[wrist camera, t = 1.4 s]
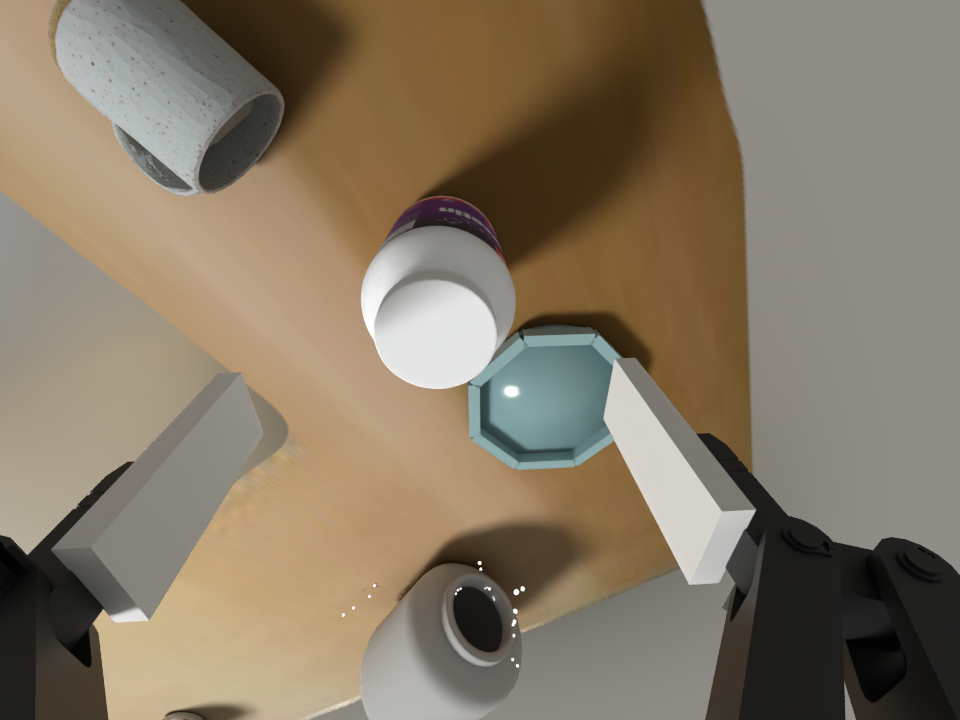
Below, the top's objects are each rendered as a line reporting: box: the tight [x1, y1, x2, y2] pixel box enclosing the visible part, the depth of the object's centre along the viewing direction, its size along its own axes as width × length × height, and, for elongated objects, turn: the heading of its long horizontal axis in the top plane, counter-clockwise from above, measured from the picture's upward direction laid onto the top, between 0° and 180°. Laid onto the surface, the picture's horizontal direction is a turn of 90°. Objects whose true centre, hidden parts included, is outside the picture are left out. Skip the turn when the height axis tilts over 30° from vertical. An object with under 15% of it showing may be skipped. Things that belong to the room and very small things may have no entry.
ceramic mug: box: [48, 0, 284, 196], centre depth 22 cm, size 10×8×7 cm
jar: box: [342, 561, 525, 720], centre depth 45 cm, size 19×15×25 cm
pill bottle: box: [361, 196, 516, 389], centre depth 24 cm, size 8×8×14 cm
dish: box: [468, 324, 623, 470], centre depth 37 cm, size 15×15×2 cm
